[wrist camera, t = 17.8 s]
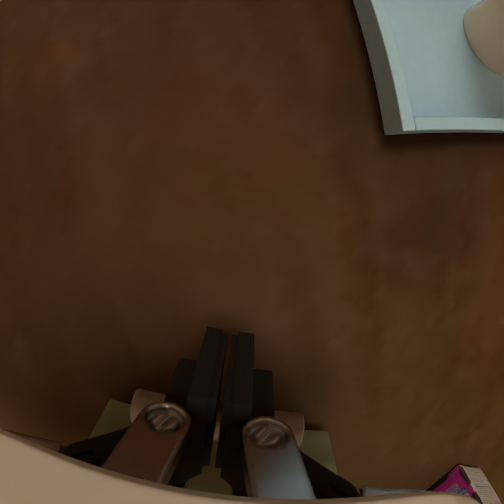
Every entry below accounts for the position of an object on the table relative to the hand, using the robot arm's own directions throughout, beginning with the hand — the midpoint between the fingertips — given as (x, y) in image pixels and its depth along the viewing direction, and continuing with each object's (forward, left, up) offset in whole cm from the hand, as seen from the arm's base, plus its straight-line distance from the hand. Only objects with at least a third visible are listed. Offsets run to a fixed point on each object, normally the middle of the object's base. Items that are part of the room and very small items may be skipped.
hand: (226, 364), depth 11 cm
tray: (+11, +17, -4) cm, 21 cm away
